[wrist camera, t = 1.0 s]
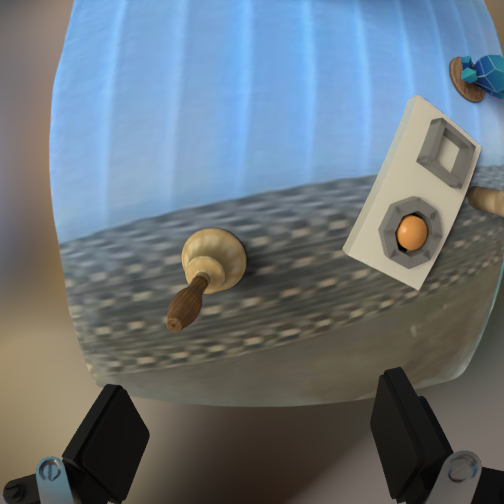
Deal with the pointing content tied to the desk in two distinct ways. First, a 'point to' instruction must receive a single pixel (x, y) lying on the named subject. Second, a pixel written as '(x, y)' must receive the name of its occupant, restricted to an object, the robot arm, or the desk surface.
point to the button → (411, 232)
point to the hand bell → (206, 272)
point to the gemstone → (478, 77)
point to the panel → (415, 192)
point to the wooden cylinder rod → (487, 200)
